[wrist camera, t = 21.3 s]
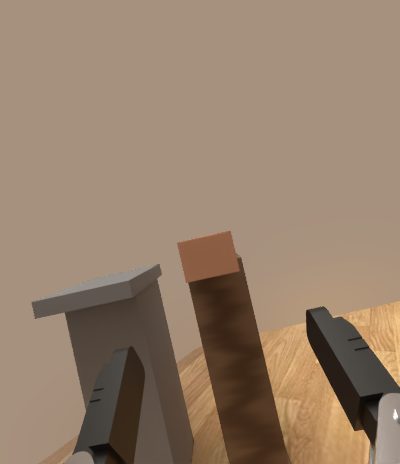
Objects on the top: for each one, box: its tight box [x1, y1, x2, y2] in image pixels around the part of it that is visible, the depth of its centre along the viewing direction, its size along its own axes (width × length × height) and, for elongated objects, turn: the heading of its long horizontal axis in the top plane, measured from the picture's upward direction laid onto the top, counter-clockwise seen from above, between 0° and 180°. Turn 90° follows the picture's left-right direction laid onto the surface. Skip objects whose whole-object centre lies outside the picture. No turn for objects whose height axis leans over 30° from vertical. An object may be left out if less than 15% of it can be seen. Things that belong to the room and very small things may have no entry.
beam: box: [177, 231, 240, 283], centre depth 31 cm, size 26×4×3 cm, turn 177°
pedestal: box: [32, 264, 194, 464], centre depth 37 cm, size 12×16×32 cm
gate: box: [188, 253, 291, 464], centre depth 34 cm, size 8×21×32 cm, turn 177°
